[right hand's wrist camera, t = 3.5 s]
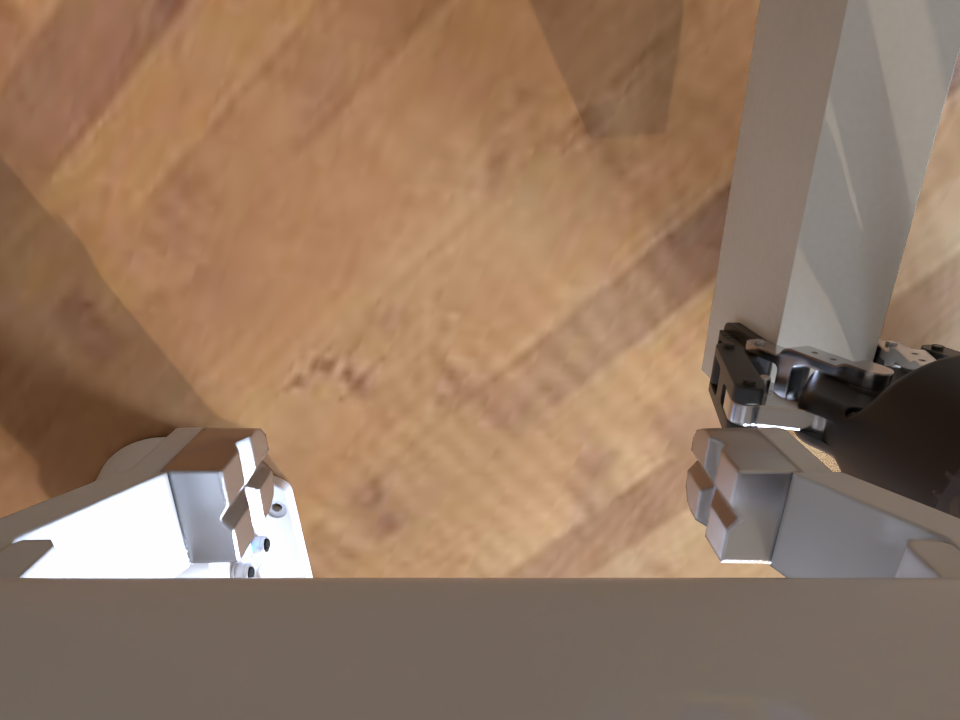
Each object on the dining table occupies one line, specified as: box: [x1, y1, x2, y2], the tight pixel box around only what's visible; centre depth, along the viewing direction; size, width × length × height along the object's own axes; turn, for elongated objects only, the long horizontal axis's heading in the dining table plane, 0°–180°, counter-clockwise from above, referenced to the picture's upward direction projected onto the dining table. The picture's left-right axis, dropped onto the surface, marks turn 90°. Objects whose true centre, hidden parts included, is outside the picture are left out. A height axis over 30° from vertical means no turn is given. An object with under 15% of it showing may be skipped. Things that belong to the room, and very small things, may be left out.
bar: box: [702, 0, 960, 427], centre depth 27 cm, size 27×5×8 cm, turn 0°
